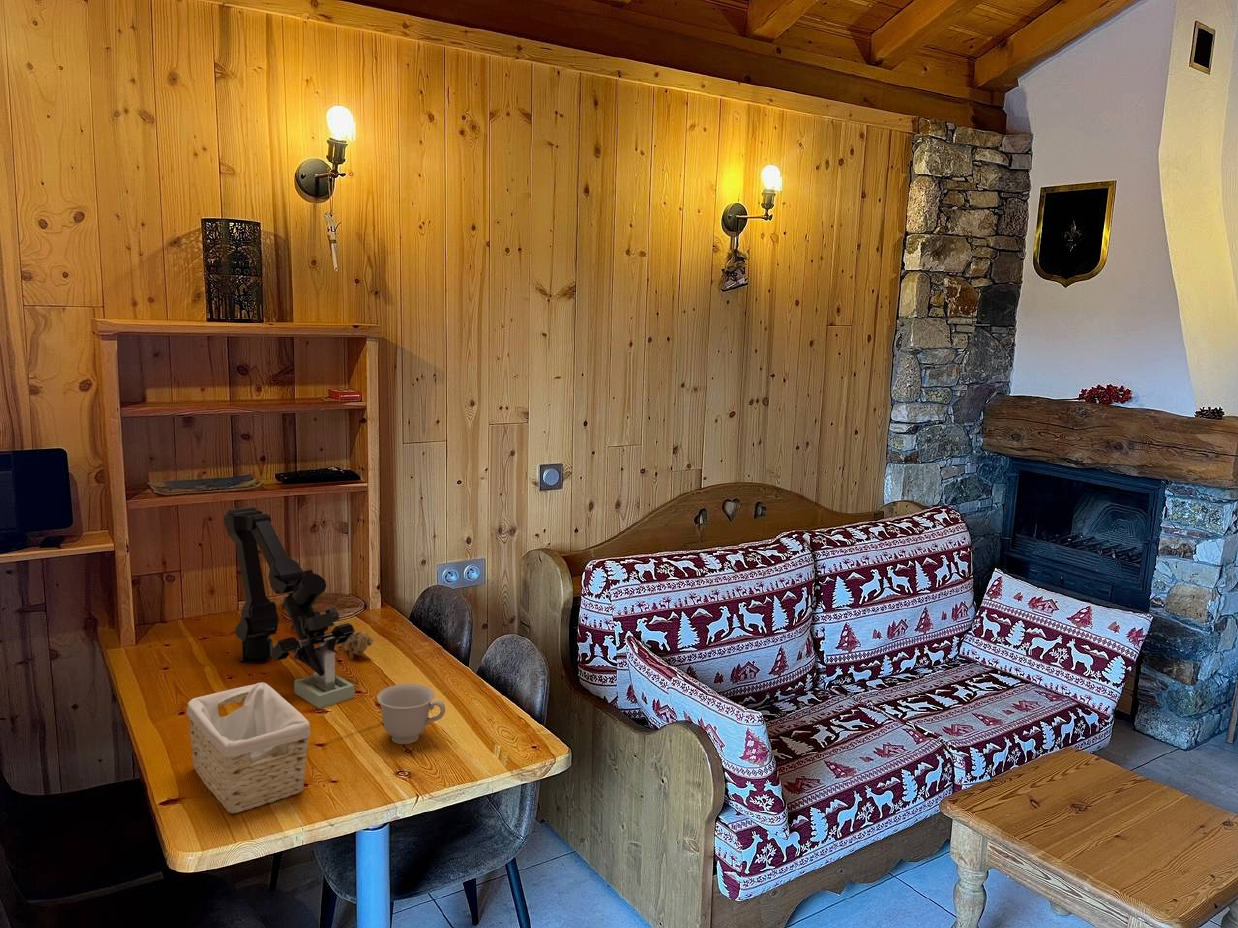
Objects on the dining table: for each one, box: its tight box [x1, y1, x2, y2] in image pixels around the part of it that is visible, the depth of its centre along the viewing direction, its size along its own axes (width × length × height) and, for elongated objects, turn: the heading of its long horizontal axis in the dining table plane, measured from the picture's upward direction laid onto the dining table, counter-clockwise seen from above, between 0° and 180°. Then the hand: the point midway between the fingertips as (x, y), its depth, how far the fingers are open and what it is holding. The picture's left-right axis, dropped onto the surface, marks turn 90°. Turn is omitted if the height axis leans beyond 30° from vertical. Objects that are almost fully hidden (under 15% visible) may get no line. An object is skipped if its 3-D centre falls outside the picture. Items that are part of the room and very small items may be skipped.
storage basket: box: [186, 682, 311, 814], centre depth 176 cm, size 24×16×15 cm
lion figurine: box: [337, 630, 374, 660], centre depth 237 cm, size 15×5×9 cm, turn 45°
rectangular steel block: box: [313, 646, 336, 692], centre depth 211 cm, size 5×2×11 cm, turn 48°
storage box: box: [294, 673, 355, 710], centre depth 212 cm, size 11×9×4 cm
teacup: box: [376, 683, 446, 745], centre depth 196 cm, size 12×15×10 cm
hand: (327, 673), depth 210 cm, fingers closed on rectangular steel block, 2 cm apart
